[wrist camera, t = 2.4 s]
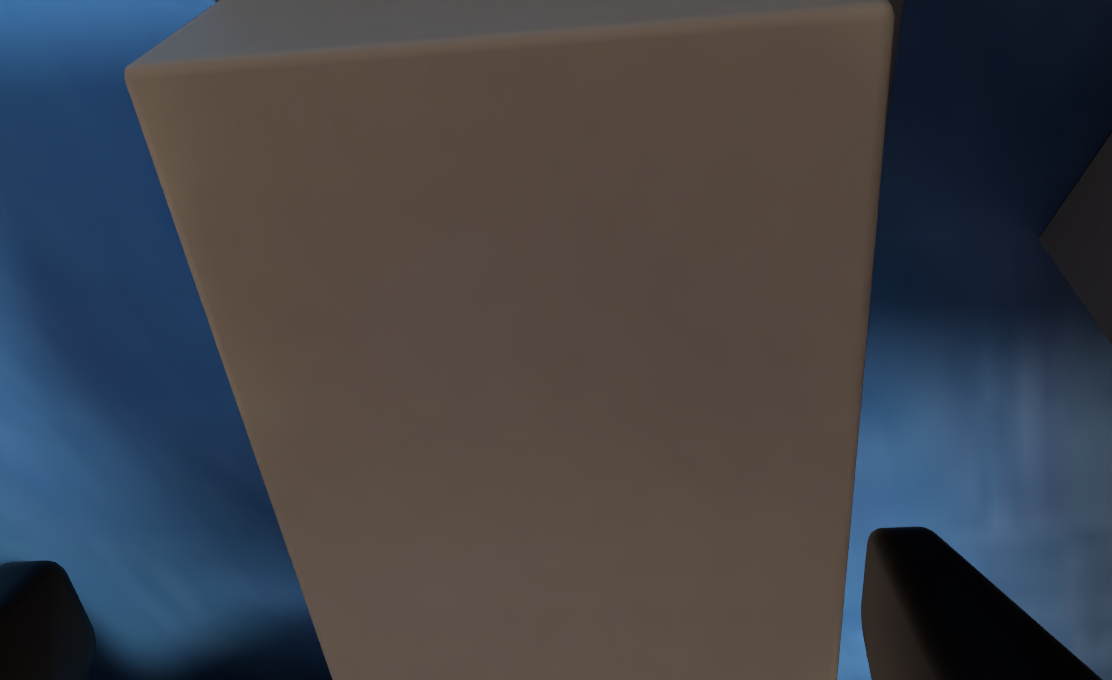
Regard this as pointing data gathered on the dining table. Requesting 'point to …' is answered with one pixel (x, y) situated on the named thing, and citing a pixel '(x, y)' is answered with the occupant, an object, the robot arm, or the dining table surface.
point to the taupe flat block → (541, 317)
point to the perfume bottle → (1087, 238)
